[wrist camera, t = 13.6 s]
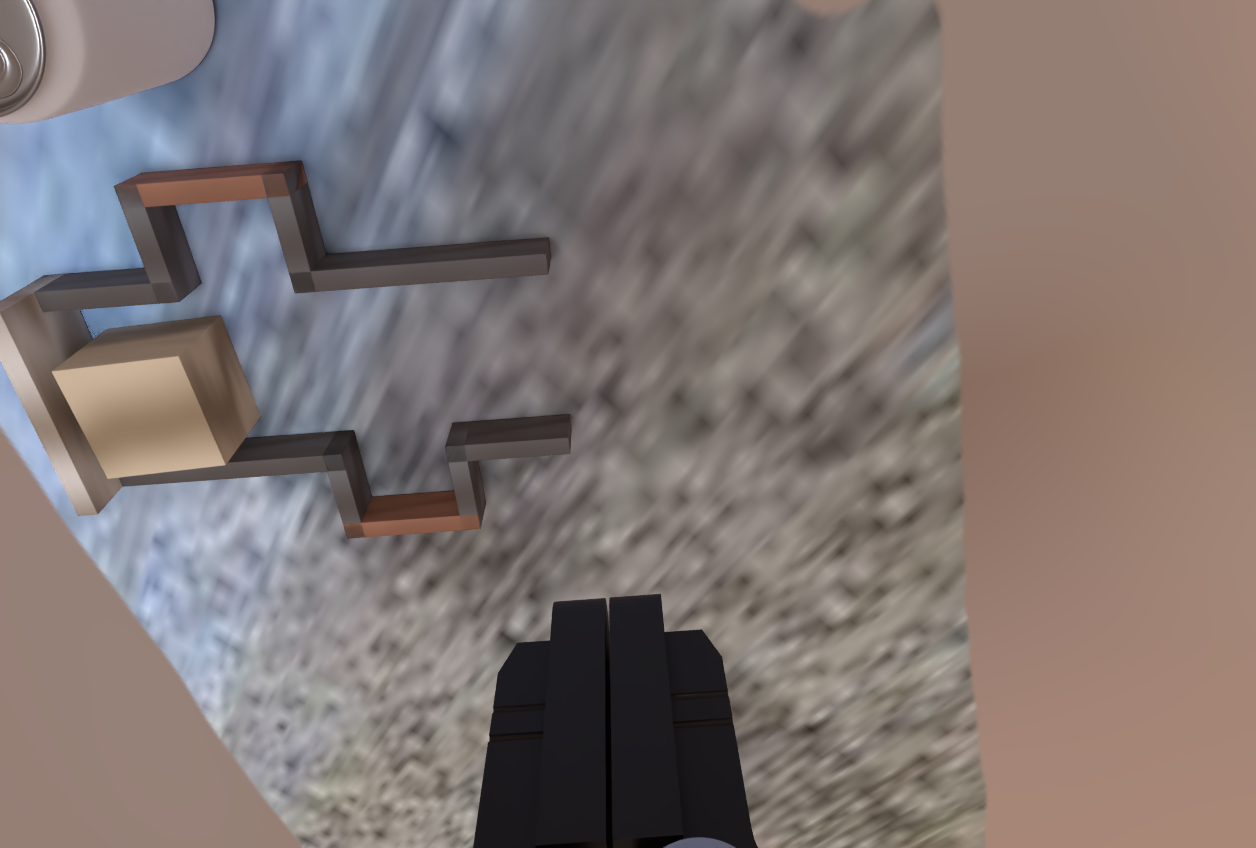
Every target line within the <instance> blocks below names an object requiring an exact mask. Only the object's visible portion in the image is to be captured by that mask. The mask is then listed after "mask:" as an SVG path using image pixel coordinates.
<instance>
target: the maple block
mask: <svg viewBox="0 0 1256 848" xmlns="http://www.w3.org/2000/svg"><path fill="white" fill-rule="evenodd" d="M51 372H52V374H53V376H54V377H55V379H56V381H57V383H58V385H59V387H60V389H61V391H62V393H63V395H64V396H65V398H66V400H67V402H68V404H69V406H70V408H71V410H72V412H73V414H74V415H75V417H76V419H77V421H78V423H79V425H80V427H81V429H82V431H83V433H84V434H85V436H86V438H87V440H88V442H89V444H90V446H91V448H92V450H93V452H94V453H95V455H96V457H97V459H98V461H99V463H100V465H101V467H102V469H103V471H104V472H105V474H106V476H107V478H108V479H111V478H120V477H128V476H137V475H145V474H154V473H163V472H171V471H180V470H188V469H197V468H206V467H214V466H223V465H226V464H227V463H228V461H229V460H230V458H231V457H232V456H233V454H234V453H235V452H236V450H237V449H238V447H239V446H240V445H241V443H242V442H243V441H244V439H245V438H246V436H247V435H248V434H249V432H250V431H251V430H252V428H253V427H254V425H255V424H256V423H257V421H258V420H259V419H260V417H261V416H260V413H259V411H258V408H257V406H256V403H255V400H254V398H253V395H252V393H251V390H250V388H249V385H248V383H247V380H246V378H245V375H244V373H243V370H242V367H241V365H240V362H239V360H238V357H237V355H236V352H235V350H234V347H233V345H232V342H231V340H230V337H229V334H228V332H227V329H226V327H225V324H224V322H223V319H222V317H221V315H219V316H210V317H202V318H194V319H186V320H178V321H169V322H161V323H153V324H145V325H137V326H128V327H120V328H112V329H106V330H105V331H104V332H102V333H101V334H100V335H98V336H97V337H96V338H94V339H93V340H92V341H91V342H89V343H88V344H87V345H85V346H84V347H83V348H81V349H80V350H79V351H78V352H76V353H75V354H74V355H72V356H71V357H70V358H68V359H67V360H66V361H64V362H63V363H62V364H61V365H59V366H58V367H57V368H55V369H54V370H53V371H51Z"/></svg>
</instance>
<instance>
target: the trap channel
mask: <svg viewBox="0 0 1256 848" xmlns="http://www.w3.org/2000/svg"><path fill="white" fill-rule="evenodd" d="M114 188H115V191H116V194H117V196H118V199H119V201H120V204H121V207H122V209H123V212H124V215H125V217H126V220H127V223H128V225H129V228H130V230H131V233H132V236H133V238H134V241H135V244H136V246H137V249H138V252H139V254H140V257H141V259H142V262H143V265H144V267H145V268H138V269H125V270H111V271H98V272H85V273H72V274H58V275H45V276H42V277H41V278H39V279H37V280H36V281H34V282H32V283H30V284H29V285H27V286H25V287H24V288H22V289H20V290H18V291H17V292H15V293H13V294H12V295H10V296H8V297H6V298H5V299H3V300H1V301H0V361H1V363H2V365H3V367H4V369H5V371H6V373H7V375H8V377H9V379H10V381H11V383H12V385H13V387H14V389H15V391H16V393H17V395H18V397H19V399H20V401H21V403H22V405H23V407H24V409H25V411H26V413H27V415H28V417H29V419H30V421H31V423H32V425H33V427H34V429H35V431H36V433H37V435H38V437H39V439H40V441H41V443H42V445H43V447H44V449H45V451H46V453H47V455H48V457H49V459H50V461H51V463H52V465H53V467H54V469H55V471H56V473H57V475H58V477H59V479H60V481H61V483H62V485H63V487H64V489H65V491H66V493H67V495H68V497H69V499H70V501H71V503H72V505H73V507H74V508H75V510H76V512H77V514H78V516H83V515H96V514H98V513H99V512H100V511H101V510H102V509H103V508H104V507H105V506H106V505H107V503H108V502H109V501H110V500H111V499H112V498H113V497H114V496H115V494H116V493H117V492H118V491H119V490H120V489H121V488H122V487H123V486H137V485H150V484H164V483H178V482H192V481H205V480H219V479H233V478H246V477H260V476H274V475H287V474H301V473H315V472H327V473H328V476H329V479H330V483H331V486H332V489H333V493H334V496H335V499H336V502H337V506H338V509H339V512H340V516H341V519H342V522H343V526H344V529H345V532H346V536H347V539H348V538H361V537H375V536H389V535H403V534H417V533H430V532H444V531H458V530H472V529H481V524H482V520H483V515H484V510H485V505H486V500H485V495H484V490H483V485H482V479H481V474H480V469H479V463H478V461H479V460H493V459H506V458H520V457H534V456H547V455H561V454H570V448H571V432H572V429H571V421H570V414H569V415H556V416H542V417H528V418H515V419H501V420H488V421H474V422H460V423H452V426H451V430H450V433H449V436H448V439H447V442H446V446H445V448H446V453H447V458H448V463H449V467H450V472H451V477H452V482H453V486H454V491H446V492H432V493H419V494H405V495H391V496H377V497H372V495H371V492H370V488H369V485H368V481H367V477H366V474H365V470H364V466H363V463H362V459H361V455H360V452H359V448H358V444H357V441H356V437H355V433H354V430H352V431H338V432H324V433H311V434H297V435H284V436H270V437H256V438H245V439H244V441H243V442H242V443H241V445H240V446H239V447H238V449H237V450H236V452H235V453H234V454H233V456H232V457H231V458H230V460H229V461H228V463H227V464H226V465H223V466H214V467H206V468H197V469H188V470H180V471H171V472H163V473H154V474H145V475H137V476H128V477H120V478H111V479H108V478H107V476H106V474H105V472H104V471H103V469H102V467H101V465H100V463H99V461H98V459H97V457H96V455H95V453H94V452H93V450H92V448H91V446H90V444H89V442H88V440H87V438H86V436H85V434H84V433H83V431H82V429H81V427H80V425H79V423H78V421H77V419H76V417H75V415H74V414H73V412H72V410H71V408H70V406H69V404H68V402H67V400H66V398H65V396H64V395H63V393H62V391H61V389H60V387H59V385H58V383H57V381H56V379H55V377H54V376H53V374H52V372H51V371H53V370H54V369H55V368H57V367H58V366H59V365H61V364H62V363H63V362H64V361H66V360H67V359H68V358H70V357H71V356H72V355H74V354H75V353H76V352H78V351H79V350H80V349H81V348H83V347H84V346H85V345H87V344H88V343H89V342H91V341H92V337H91V335H90V333H89V330H88V328H87V326H86V323H85V321H84V319H83V316H82V314H81V312H80V309H93V308H106V307H120V306H133V305H146V304H160V303H173V302H180V301H181V300H182V299H183V298H185V297H186V296H187V295H188V294H189V293H191V292H192V291H193V290H194V289H195V288H197V287H198V286H199V285H200V284H201V280H200V278H199V275H198V272H197V269H196V266H195V263H194V260H193V257H192V254H191V252H190V249H189V246H188V243H187V240H186V237H185V234H184V231H183V228H182V226H181V223H180V220H179V217H178V214H177V211H176V208H175V205H180V204H193V203H207V202H220V201H233V200H246V199H259V198H268V202H269V205H270V209H271V212H272V216H273V219H274V223H275V226H276V230H277V233H278V236H279V240H280V243H281V247H282V250H283V254H284V257H285V261H286V264H287V268H288V271H289V275H290V278H291V282H292V285H293V289H294V292H295V293H306V292H319V291H333V290H346V289H359V288H373V287H386V286H399V285H413V284H426V283H439V282H453V281H466V280H479V279H493V278H506V277H519V276H533V275H546V274H548V273H549V267H550V260H551V253H550V244H549V238H535V239H522V240H509V241H496V242H482V243H469V244H456V245H443V246H429V247H416V248H403V249H390V250H376V251H363V252H350V253H337V254H326V252H325V249H324V245H323V241H322V237H321V233H320V229H319V226H318V222H317V218H316V214H315V210H314V207H313V203H312V199H311V195H310V191H309V187H308V184H307V180H306V176H305V172H304V168H303V164H302V161H291V162H277V163H264V164H251V165H238V166H225V167H212V168H199V169H186V170H173V171H160V172H147V173H140V174H138V175H136V176H134V177H132V178H130V179H128V180H126V181H124V182H122V183H119V184H117V185H115V186H114Z"/></svg>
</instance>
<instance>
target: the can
mask: <svg viewBox="0 0 1256 848" xmlns="http://www.w3.org/2000/svg"><path fill="white" fill-rule="evenodd" d="M214 25H215V16H214V7H213V1H212V0H0V123H6V124H22V123H31V122H37V121H41V120H46V119H50V118H53V117H57V116H60V115H64V114H68V113H71V112H74V111H78V110H81V109H85V108H88V107H92V106H95V105H98V104H102V103H105V102H108V101H112V100H115V99H118V98H122V97H125V96H128V95H132V94H135V93H138V92H142V91H145V90H148V89H151V88H155V87H158V86H161V85H164V84H167V83H170V82H173V81H176V80H178V79H180V78H182V77H184V76H186V75H187V74H189V73H190V72H191V71H193V70H194V69H195V68H196V67H197V66H198V65H199V63H200V62H201V61H202V60H203V58H204V57H205V55H206V54H207V52H208V50H209V48H210V45H211V43H212V39H213V34H214Z"/></svg>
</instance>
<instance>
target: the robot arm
mask: <svg viewBox="0 0 1256 848" xmlns="http://www.w3.org/2000/svg"><path fill="white" fill-rule="evenodd" d="M609 613H610V630H609V621H608V611H607V603H606V598H601V599H587V600H573V601H559V602H554V604H553V610H552V623H551V636H550V641H537V642H523V643H517V644H516V646H515V647H514V649H513V651H512V652H511V654H510V655H509V657H508V658H507V660H506V661H505V663H504V665H503V666H502V668H501V669H500V671H499V672H498V677H497V684H496V691H495V698H494V705H493V709H494V712H493V714H492V719H491V726H490V733H489V737H490V740H489V742H488V747H487V754H486V761H485V768H484V775H483V782H482V789H481V796H480V803H479V810H478V818H477V825H476V832H475V839H474V846H473V848H758V847H757V845H756V842H755V840H754V836H753V832H752V829H751V823H750V817H749V811H748V805H747V800H746V794H745V788H744V782H743V776H742V770H741V765H740V759H739V753H738V747H737V741H736V736H735V730H734V725H733V720H732V712H731V707H730V701H729V697H728V689H727V683H726V677H725V672H724V666H723V660H722V656H721V655H720V654H719V652H718V651H717V650H716V648H715V647H714V645H713V644H712V643H711V641H710V640H709V639H708V637H707V636H706V635H705V633H704V632H703V630H688V631H674V632H664V622H663V612H662V601H661V594H653V595H639V596H625V597H611V598H610V600H609Z"/></svg>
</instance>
